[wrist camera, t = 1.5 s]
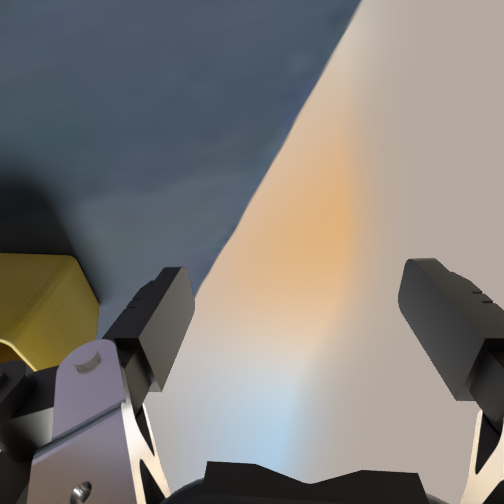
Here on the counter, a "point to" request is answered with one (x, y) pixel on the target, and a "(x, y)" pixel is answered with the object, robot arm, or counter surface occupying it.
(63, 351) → the flower pot
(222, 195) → the counter surface
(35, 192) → the counter surface
